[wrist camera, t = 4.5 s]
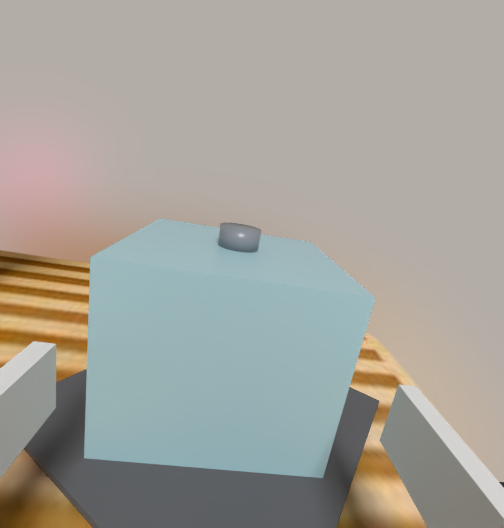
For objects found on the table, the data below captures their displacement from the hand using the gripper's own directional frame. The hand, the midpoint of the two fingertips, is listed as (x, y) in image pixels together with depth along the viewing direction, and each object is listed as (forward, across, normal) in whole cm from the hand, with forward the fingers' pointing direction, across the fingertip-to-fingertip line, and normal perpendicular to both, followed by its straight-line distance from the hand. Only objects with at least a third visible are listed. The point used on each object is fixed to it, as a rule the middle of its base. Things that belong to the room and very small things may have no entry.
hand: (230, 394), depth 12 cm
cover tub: (+8, 0, -6) cm, 10 cm away
